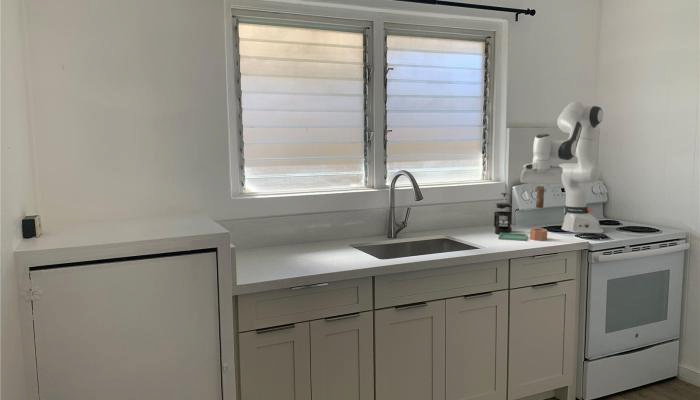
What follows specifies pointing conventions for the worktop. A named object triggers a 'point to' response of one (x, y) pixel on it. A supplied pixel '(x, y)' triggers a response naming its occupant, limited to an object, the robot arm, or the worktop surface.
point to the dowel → (540, 197)
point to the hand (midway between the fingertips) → (540, 192)
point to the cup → (538, 234)
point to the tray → (512, 236)
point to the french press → (503, 213)
